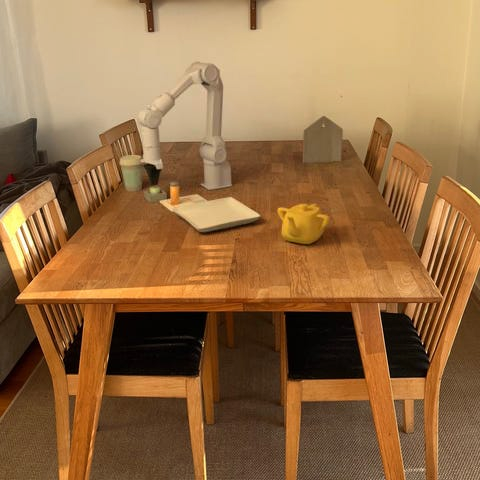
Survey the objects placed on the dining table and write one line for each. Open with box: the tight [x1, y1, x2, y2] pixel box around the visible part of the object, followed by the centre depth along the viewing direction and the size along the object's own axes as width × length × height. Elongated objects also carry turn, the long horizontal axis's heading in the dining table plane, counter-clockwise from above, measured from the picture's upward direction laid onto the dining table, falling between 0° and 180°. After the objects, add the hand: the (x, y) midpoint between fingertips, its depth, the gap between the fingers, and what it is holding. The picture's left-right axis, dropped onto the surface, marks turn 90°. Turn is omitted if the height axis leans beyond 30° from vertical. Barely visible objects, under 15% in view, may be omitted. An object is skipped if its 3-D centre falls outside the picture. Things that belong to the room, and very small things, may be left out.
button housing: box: [143, 188, 168, 203], centre depth 199 cm, size 6×6×2 cm
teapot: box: [277, 203, 331, 245], centre depth 161 cm, size 14×13×10 cm
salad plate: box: [173, 196, 261, 233], centre depth 178 cm, size 21×21×3 cm
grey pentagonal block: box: [302, 115, 344, 164], centre depth 241 cm, size 16×8×19 cm, turn 94°
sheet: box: [159, 193, 208, 213], centre depth 194 cm, size 14×12×1 cm
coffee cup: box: [119, 154, 144, 193], centre depth 209 cm, size 8×8×12 cm
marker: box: [169, 180, 181, 205], centre depth 191 cm, size 3×3×7 cm
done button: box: [149, 185, 161, 195], centre depth 199 cm, size 3×3×3 cm
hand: (154, 184), depth 198 cm, fingers closed
